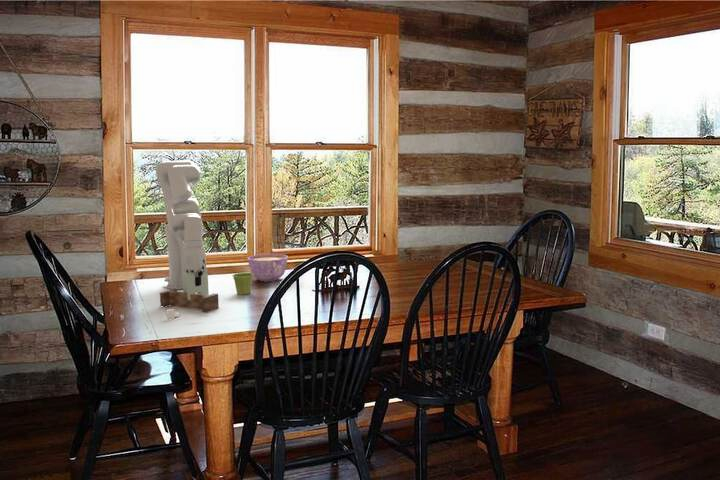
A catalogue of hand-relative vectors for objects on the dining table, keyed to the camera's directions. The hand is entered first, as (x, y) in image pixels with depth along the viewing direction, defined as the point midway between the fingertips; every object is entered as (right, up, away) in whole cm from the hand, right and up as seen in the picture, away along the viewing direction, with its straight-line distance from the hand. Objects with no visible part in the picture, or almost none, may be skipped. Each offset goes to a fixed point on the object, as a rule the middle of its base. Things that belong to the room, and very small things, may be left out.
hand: (195, 285), depth 304 cm
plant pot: (+19, -5, +10) cm, 22 cm away
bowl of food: (+27, 0, +40) cm, 48 cm away
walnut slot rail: (+1, -8, -15) cm, 17 cm away
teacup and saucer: (+1, -12, -33) cm, 35 cm away
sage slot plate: (0, -6, +1) cm, 6 cm away
